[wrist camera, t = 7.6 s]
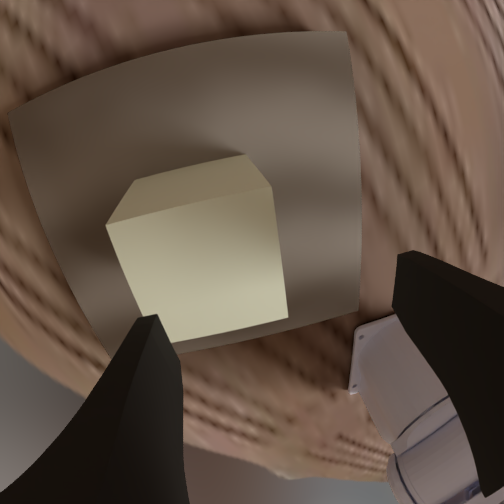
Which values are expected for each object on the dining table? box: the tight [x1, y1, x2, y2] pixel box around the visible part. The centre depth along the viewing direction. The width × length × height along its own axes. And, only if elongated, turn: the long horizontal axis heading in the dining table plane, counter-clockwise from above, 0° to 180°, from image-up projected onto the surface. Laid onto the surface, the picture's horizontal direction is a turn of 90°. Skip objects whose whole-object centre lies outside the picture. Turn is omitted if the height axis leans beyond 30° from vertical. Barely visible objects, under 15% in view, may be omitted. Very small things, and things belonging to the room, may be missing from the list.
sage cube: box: [106, 154, 288, 343], centre depth 12 cm, size 5×5×5 cm
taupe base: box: [8, 31, 362, 359], centre depth 15 cm, size 16×16×2 cm
